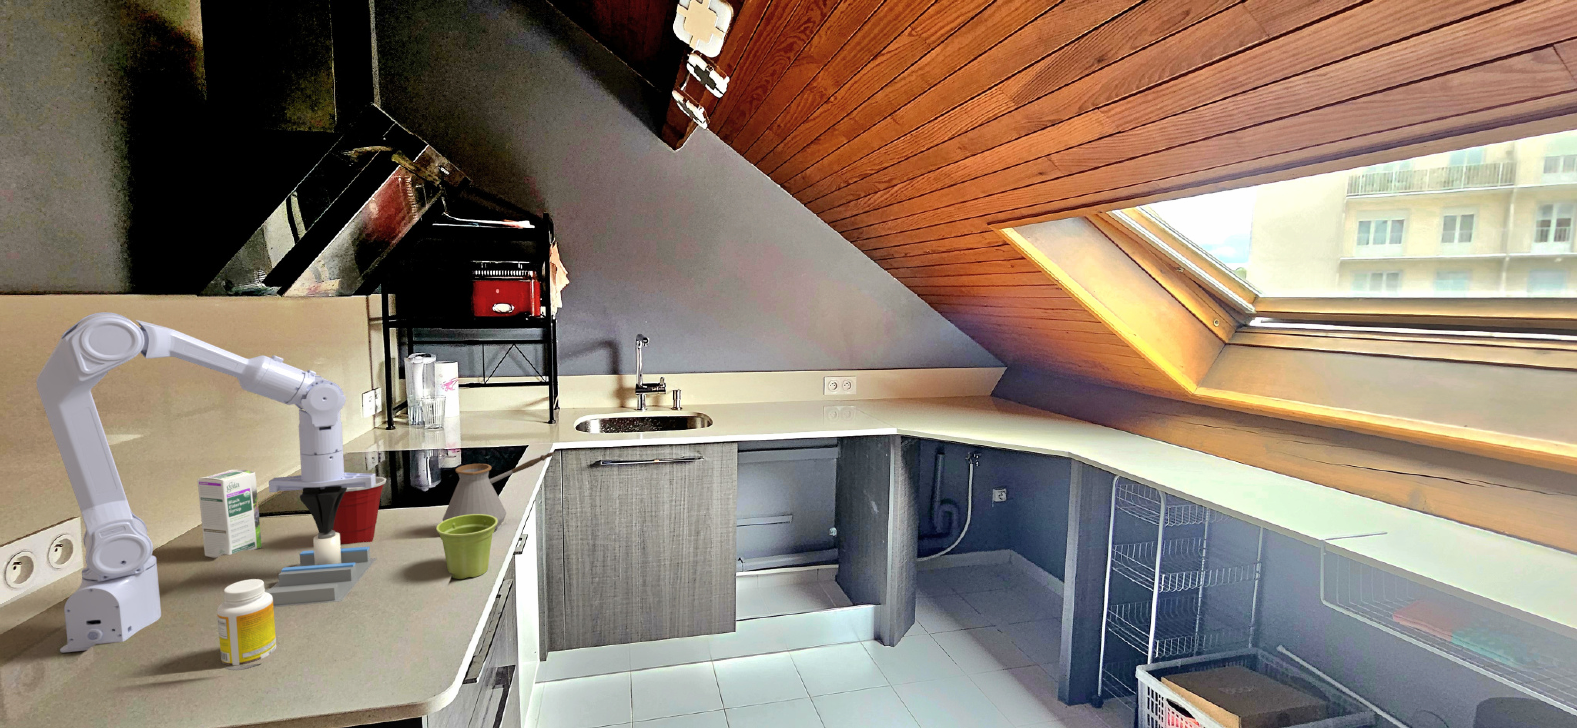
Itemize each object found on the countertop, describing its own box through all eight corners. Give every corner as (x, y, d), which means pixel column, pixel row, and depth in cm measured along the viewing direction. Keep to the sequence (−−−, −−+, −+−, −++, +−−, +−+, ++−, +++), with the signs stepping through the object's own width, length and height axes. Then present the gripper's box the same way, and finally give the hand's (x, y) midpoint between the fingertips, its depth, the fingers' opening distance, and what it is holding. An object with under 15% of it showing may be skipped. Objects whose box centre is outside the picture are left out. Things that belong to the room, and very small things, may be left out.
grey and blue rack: (341, 607, 99) (340, 586, 98) (248, 615, 96) (246, 594, 95) (377, 563, 114) (376, 545, 114) (298, 568, 111) (297, 550, 110)
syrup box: (230, 560, 113) (223, 479, 112) (203, 556, 115) (196, 476, 113) (262, 547, 119) (257, 470, 117) (236, 544, 120) (230, 468, 118)
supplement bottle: (286, 647, 88) (282, 575, 87) (257, 671, 82) (252, 595, 81) (242, 648, 87) (236, 576, 86) (209, 673, 82) (203, 596, 80)
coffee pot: (440, 544, 123) (437, 467, 121) (445, 523, 133) (443, 452, 131) (559, 530, 131) (558, 458, 129) (555, 512, 142) (554, 445, 140)
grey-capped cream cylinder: (336, 574, 107) (334, 535, 106) (311, 576, 106) (309, 537, 105) (345, 564, 111) (343, 527, 110) (320, 566, 110) (318, 529, 109)
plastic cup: (396, 529, 129) (393, 470, 128) (380, 550, 119) (377, 487, 118) (332, 534, 126) (329, 474, 125) (310, 556, 116) (306, 491, 114)
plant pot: (510, 564, 115) (509, 517, 114) (471, 588, 106) (469, 537, 105) (466, 557, 118) (465, 511, 117) (424, 579, 109) (422, 529, 108)
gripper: (380, 443, 112) (383, 519, 113) (281, 446, 108) (286, 524, 110) (365, 454, 105) (369, 534, 107) (259, 457, 101) (265, 541, 103)
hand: (326, 530), depth 108 cm, fingers closed
